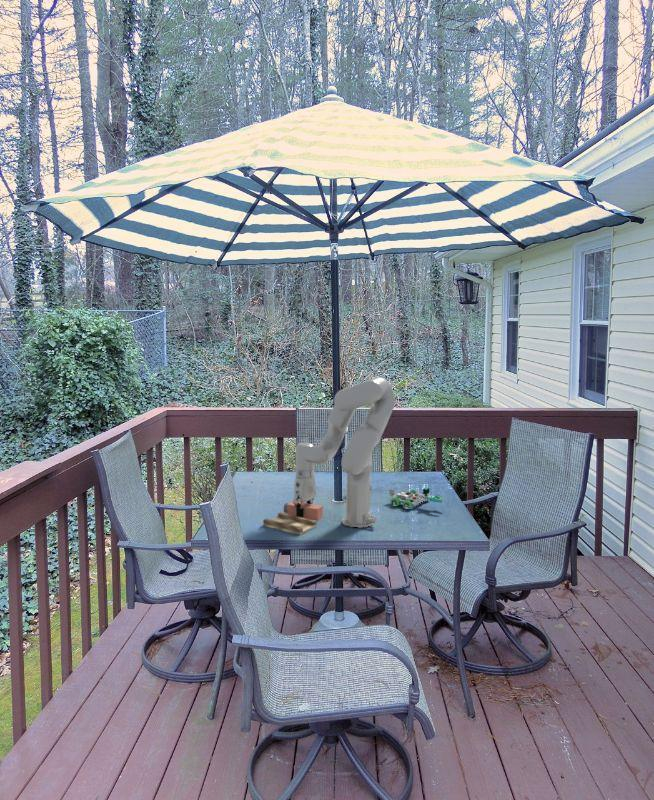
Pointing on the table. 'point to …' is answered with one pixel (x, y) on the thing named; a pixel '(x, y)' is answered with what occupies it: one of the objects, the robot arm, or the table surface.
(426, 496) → the robot kit
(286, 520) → the cradle
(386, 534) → the table surface
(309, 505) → the salmon rectangular block
